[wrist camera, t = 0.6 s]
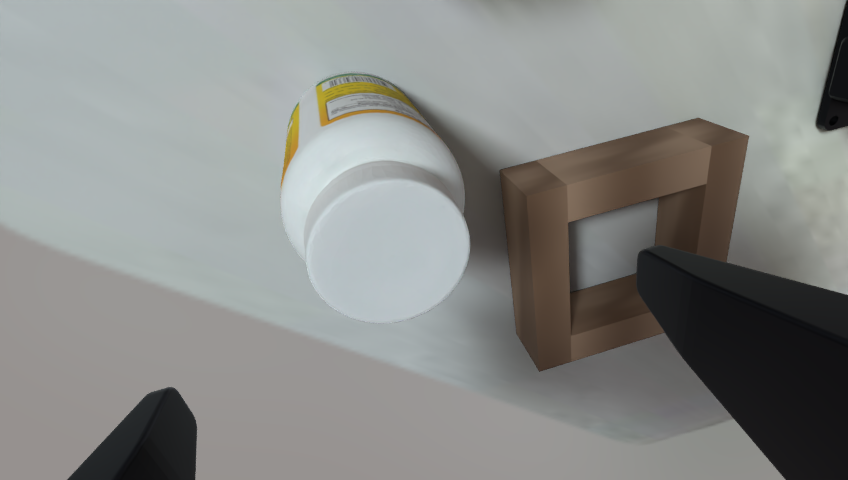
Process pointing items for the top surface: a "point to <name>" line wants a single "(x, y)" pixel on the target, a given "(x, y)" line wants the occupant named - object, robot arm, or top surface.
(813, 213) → the top surface
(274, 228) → the top surface
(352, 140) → the supplement bottle
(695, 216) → the socket block
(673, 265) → the robot arm
